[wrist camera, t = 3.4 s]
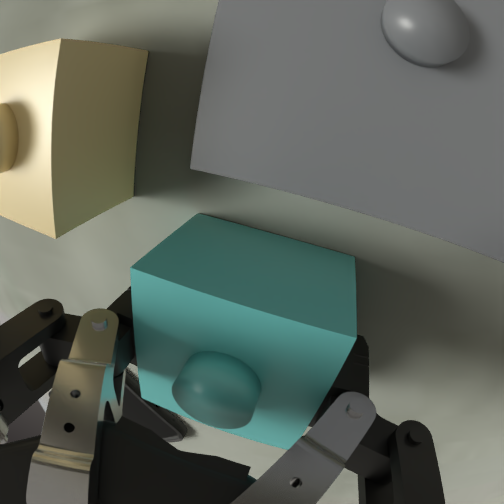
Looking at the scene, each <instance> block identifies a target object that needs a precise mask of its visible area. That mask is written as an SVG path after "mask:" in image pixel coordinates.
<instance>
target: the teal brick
mask: <svg viewBox="0 0 504 504" xmlns="http://www.w3.org/2000/svg"><path fill="white" fill-rule="evenodd" d="M130 271H131V295H132V312H133V326H134V338H135V348H136V358H137V367H138V375H139V383H140V390H141V397H142V398H143V399H145V400H147V401H149V402H152V403H154V404H156V405H158V406H161V407H163V408H165V409H168V410H170V411H172V412H175V413H177V414H180V415H182V416H185V417H187V418H190V419H192V420H195V421H197V422H200V423H203V424H206V425H208V426H211V427H214V428H217V429H220V430H222V431H225V432H228V433H231V434H234V435H237V436H241V437H244V438H247V439H250V440H254V441H257V442H260V443H264V444H268V445H271V446H275V447H279V448H282V449H286V450H289V449H290V448H291V446H292V445H293V444H294V443H295V442H296V441H297V440H298V439H299V438H300V437H301V436H302V434H303V433H304V431H305V430H306V428H307V426H308V425H309V423H310V422H311V420H312V418H313V417H314V415H315V413H316V412H317V410H318V408H319V407H320V405H321V403H322V402H323V400H324V398H325V396H326V395H327V393H328V391H329V390H330V388H331V386H332V384H333V382H334V381H335V379H336V377H337V375H338V373H339V371H340V370H341V368H342V366H343V364H344V362H345V360H346V358H347V356H348V354H349V353H350V351H351V349H352V347H353V345H354V343H355V341H356V339H357V305H356V274H355V257H354V256H350V255H347V254H344V253H340V252H337V251H333V250H330V249H326V248H323V247H319V246H316V245H312V244H309V243H305V242H302V241H298V240H294V239H291V238H287V237H284V236H280V235H277V234H273V233H269V232H266V231H262V230H258V229H255V228H251V227H247V226H244V225H240V224H236V223H233V222H229V221H225V220H221V219H218V218H214V217H210V216H206V215H203V214H199V213H198V214H196V215H195V216H194V217H192V218H191V219H190V220H189V221H187V222H186V223H185V224H184V225H182V226H181V227H180V228H178V229H177V230H176V231H175V232H173V233H172V234H171V235H170V236H168V237H167V238H166V239H165V240H163V241H162V242H161V243H160V244H158V245H157V246H156V247H155V248H153V249H152V250H151V251H150V252H149V253H147V254H146V255H145V256H144V257H142V258H141V259H140V260H139V261H138V262H136V263H135V264H134V265H133V266H132V267H130Z"/></svg>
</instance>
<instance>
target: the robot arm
mask: <svg viewBox="0 0 504 504" xmlns="http://www.w3.org/2000/svg"><path fill="white" fill-rule="evenodd" d="M38 346H40V348H41V351H40V352H39V353H38V354H36V355H35V356H34V357H32V358H31V359H30V360H28V361H27V362H26V363H25V364H23V365H22V366H21V367H19V368H18V365H19V362H20V360H21V359H22V358H23V357H24V356H26V355H27V354H28V353H30V352H31V351H32V350H34V349H35V348H37V347H38ZM368 357H369V351H368V345H367V343H366V341H365V339H364V337H363V336H360V335H357V339H356V341H355V343H354V345H353V347H352V349H351V351H350V353H349V354H348V356H347V358H346V360H345V362H344V364H343V366H342V368H341V370H340V371H339V373H338V375H337V377H336V379H335V381H334V382H333V384H332V386H331V388H330V390H329V391H328V393H327V395H326V396H325V398H324V400H323V402H322V403H321V405H320V407H319V408H318V410H317V412H316V413H315V415H314V417H313V418H312V420H311V422H310V423H309V425H308V426H310V427H312V428H311V429H310V430H309V431H308V433H307V434H306V435H305V436H302V437H300V438H299V439H298V440H297V441H296V442H295V443H294V444H293V445H292V446H291V448H290V449H289V450H288V451H287V452H286V453H285V454H284V455H283V456H282V457H281V458H280V459H279V460H278V461H277V462H276V463H275V464H274V465H272V466H271V467H270V468H269V469H268V470H267V471H266V472H265V473H264V474H263V475H262V476H261V477H260V478H259V479H258V480H256V479H255V478H253V477H251V476H249V475H248V473H249V470H250V467H249V466H246V465H243V464H239V463H236V462H233V461H230V460H227V459H224V458H221V457H218V456H211V455H204V454H197V453H190V452H184V451H180V450H178V449H176V448H175V447H173V446H172V445H171V444H169V443H168V442H166V441H165V440H164V439H162V438H161V437H160V436H158V435H157V434H156V433H154V432H153V431H152V430H150V429H148V428H146V427H144V426H142V425H140V424H137V423H135V422H133V421H131V420H129V419H127V418H125V417H123V416H122V407H123V395H124V385H125V376H126V371H125V368H126V367H127V366H128V365H129V363H131V364H134V365H136V366H137V358H136V348H135V338H134V326H133V312H132V295H131V286H130V287H129V288H128V290H126V291H125V292H124V293H123V294H122V295H121V296H120V297H119V298H117V299H116V300H115V301H114V302H113V303H112V304H111V305H110V306H109V307H108V308H107V309H100V308H99V309H93V310H90V311H88V312H87V313H85V314H84V315H83V316H76V315H70V314H65V313H64V309H63V306H62V304H61V303H60V302H59V301H57V300H54V299H43V300H40V301H38V302H36V303H34V304H33V305H31V306H30V307H28V308H27V309H25V310H23V311H22V312H20V313H19V314H17V315H16V316H14V317H13V318H11V319H10V320H8V321H7V322H5V323H4V324H2V325H1V326H0V504H316V503H317V502H318V501H319V499H320V498H321V497H322V496H323V494H324V493H325V492H326V491H327V489H328V488H329V487H330V486H331V484H332V483H333V482H334V481H335V479H336V478H337V477H338V475H339V474H340V473H341V471H342V470H343V468H346V469H348V470H350V471H352V472H354V473H356V474H358V491H359V504H445V499H444V493H443V487H442V482H441V476H440V471H439V466H438V461H437V457H436V452H435V448H434V443H433V439H432V435H431V433H430V431H429V430H428V428H427V427H426V426H425V425H423V424H422V423H420V422H418V421H414V420H408V421H404V422H402V423H401V424H400V425H399V426H398V425H395V424H393V423H391V422H389V421H387V420H385V419H383V418H382V417H380V416H379V415H378V414H377V413H376V408H375V405H374V404H373V402H372V401H371V400H370V399H369V367H368V366H369V359H368ZM51 388H52V390H51V394H50V398H49V402H48V406H47V410H46V415H45V419H44V424H43V428H42V433H41V435H39V436H35V437H31V438H27V439H23V440H18V441H14V442H10V443H6V442H7V440H8V435H7V432H8V425H9V424H11V423H12V422H13V421H14V420H15V419H16V418H17V417H18V416H20V415H21V414H22V413H23V412H24V411H25V410H27V409H28V408H29V407H30V406H31V405H32V404H33V403H35V402H36V401H37V400H38V399H39V398H41V397H42V396H43V395H44V394H45V393H46V392H48V391H49V390H50V389H51ZM4 443H5V444H4Z"/></svg>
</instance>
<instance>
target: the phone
mask: <svg viewBox="0 0 504 504" xmlns="http://www.w3.org/2000/svg"><path fill="white" fill-rule="evenodd" d="M125 371H126V370H125ZM50 394H51V391H50V392H49V397H50ZM122 416H123V417H125V418H127V419H129V420H131V421H133V422H135V423H137V424H140V425H142V426H144V427H146V428H148V429H150V430H152V431H153V432H154V433H156V434H157V435H158V436H160V437H161V438H162V439H164V440H165V441H166V442H178V441H182V439H183V438H184V436H185V434H186V432H187V428H186V427H185V425H184V424H183V423H182V422H181V421H180V420H178V419H177V418H176V417H175V416H174V415H173V414H171V413H170V412H169V411H168V410H167V409H165V408H163V407H161V406H159V407H158V408H157V407H156V406H155V405H153V404H152V403H151V402H149V401H147V400H145V399H143V398H142V397H141V390H140V384H139V383H138V382H137V381H136V380H135V379H134V378H133V377H132V376H131V375H130V374H129V373H128V372H127V371H126V376H125V385H124V395H123V407H122ZM174 420H175V421H174Z"/></svg>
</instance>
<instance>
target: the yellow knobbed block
mask: <svg viewBox="0 0 504 504" xmlns="http://www.w3.org/2000/svg"><path fill="white" fill-rule="evenodd" d="M148 52H149V51H147V50H142V49H136V48H131V47H125V46H119V45H113V44H106V43H99V42H91V41H83V40H73V39H56V40H52V41H47V42H43V43H39V44H35V45H31V46H27V47H23V48H20V49H16V50H13V51H10V52H6V53H3V54H0V215H1V216H3V217H5V218H8V219H10V220H12V221H14V222H17V223H19V224H21V225H24V226H26V227H28V228H31V229H33V230H35V231H38V232H40V233H43V234H45V235H47V236H50V237H52V238H55V239H57V238H58V237H60V236H62V235H63V234H65V233H67V232H69V231H70V230H72V229H74V228H76V227H77V226H79V225H81V224H83V223H85V222H86V221H88V220H90V219H92V218H94V217H96V216H97V215H99V214H101V213H103V212H105V211H107V210H109V209H111V208H112V207H114V206H116V205H118V204H120V203H122V202H124V201H126V200H128V199H130V198H132V197H133V192H134V173H135V158H136V145H137V134H138V124H139V115H140V106H141V98H142V91H143V83H144V77H145V70H146V64H147V58H148Z"/></svg>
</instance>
